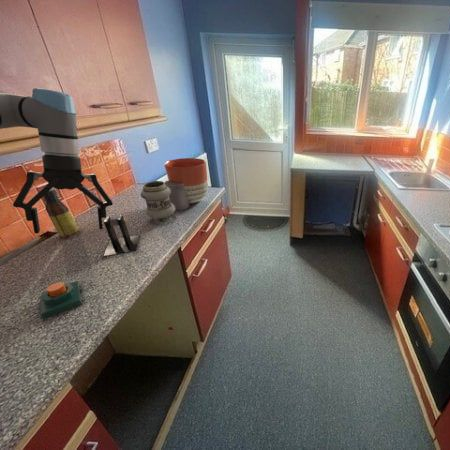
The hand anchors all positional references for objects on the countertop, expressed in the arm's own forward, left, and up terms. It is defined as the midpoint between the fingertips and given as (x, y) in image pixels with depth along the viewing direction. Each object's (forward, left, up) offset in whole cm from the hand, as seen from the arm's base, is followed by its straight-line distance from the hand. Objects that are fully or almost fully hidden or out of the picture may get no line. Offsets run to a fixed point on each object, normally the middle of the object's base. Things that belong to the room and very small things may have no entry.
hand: (71, 229), depth 72 cm
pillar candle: (-38, +39, -18) cm, 58 cm away
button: (+8, -7, -14) cm, 18 cm away
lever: (-17, +12, -10) cm, 23 cm away
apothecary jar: (-28, +29, -18) cm, 44 cm away
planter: (-42, +47, -17) cm, 66 cm away
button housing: (+8, -7, -17) cm, 20 cm away
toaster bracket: (-13, +11, -17) cm, 24 cm away
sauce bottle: (-36, -4, -18) cm, 40 cm away
